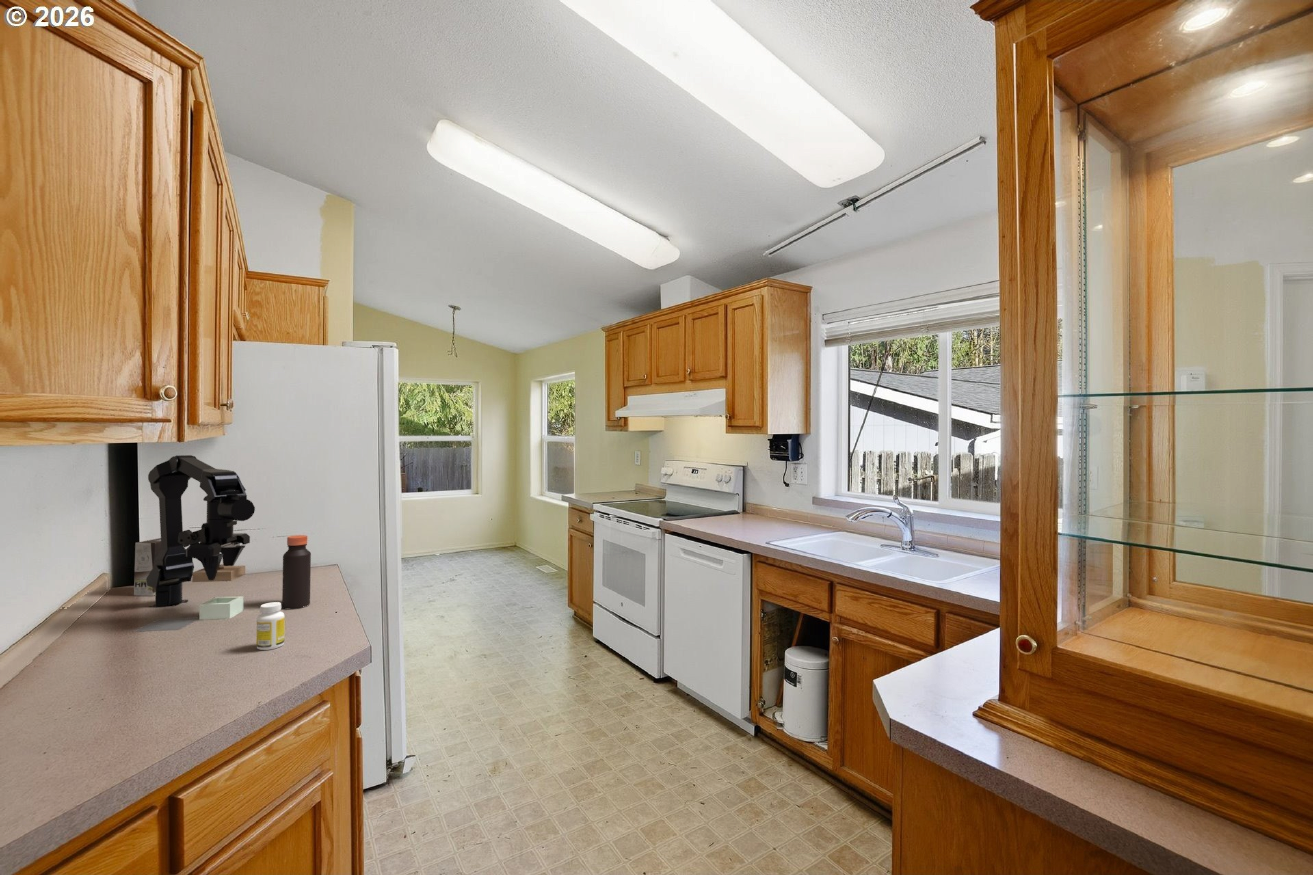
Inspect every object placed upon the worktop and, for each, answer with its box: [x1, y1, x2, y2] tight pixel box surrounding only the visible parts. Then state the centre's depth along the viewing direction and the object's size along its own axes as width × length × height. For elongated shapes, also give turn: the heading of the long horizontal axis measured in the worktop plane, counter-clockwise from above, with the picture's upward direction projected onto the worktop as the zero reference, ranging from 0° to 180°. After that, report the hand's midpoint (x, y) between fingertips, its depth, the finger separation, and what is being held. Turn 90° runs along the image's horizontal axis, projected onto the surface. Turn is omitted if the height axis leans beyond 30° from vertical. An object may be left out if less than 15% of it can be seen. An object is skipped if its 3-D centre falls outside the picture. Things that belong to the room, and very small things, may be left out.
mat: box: [132, 616, 199, 633], centre depth 144 cm, size 10×10×1 cm
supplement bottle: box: [256, 601, 286, 651], centre depth 132 cm, size 5×5×10 cm
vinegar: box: [281, 534, 312, 609], centre depth 163 cm, size 7×7×20 cm
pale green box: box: [198, 595, 244, 621], centre depth 152 cm, size 7×7×4 cm
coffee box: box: [133, 537, 161, 597], centre depth 174 cm, size 9×6×16 cm
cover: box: [191, 563, 246, 583], centre depth 151 cm, size 7×9×4 cm
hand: (219, 576), depth 151 cm, fingers closed on cover, 7 cm apart
